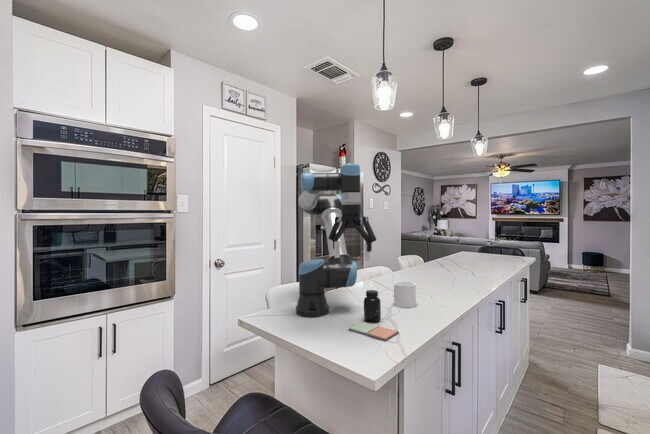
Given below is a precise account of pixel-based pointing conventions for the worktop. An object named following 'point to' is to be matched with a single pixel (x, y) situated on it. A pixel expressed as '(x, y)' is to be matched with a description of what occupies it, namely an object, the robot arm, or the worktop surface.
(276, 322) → the worktop surface
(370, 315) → the supplement bottle
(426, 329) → the worktop surface
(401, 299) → the mug
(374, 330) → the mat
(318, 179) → the robot arm
